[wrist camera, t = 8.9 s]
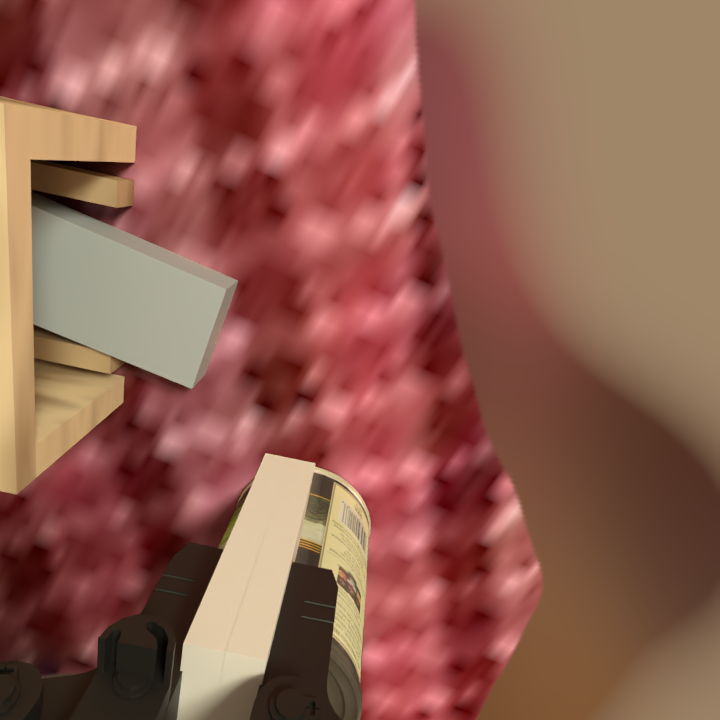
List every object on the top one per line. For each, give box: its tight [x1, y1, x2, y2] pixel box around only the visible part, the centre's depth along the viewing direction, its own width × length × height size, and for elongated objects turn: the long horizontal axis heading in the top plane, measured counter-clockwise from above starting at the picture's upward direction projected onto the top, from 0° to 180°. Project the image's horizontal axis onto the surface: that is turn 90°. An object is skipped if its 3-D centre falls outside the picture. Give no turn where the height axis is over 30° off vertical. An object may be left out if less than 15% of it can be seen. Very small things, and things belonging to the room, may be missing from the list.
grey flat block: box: [31, 191, 238, 389], centre depth 32 cm, size 14×7×3 cm, turn 67°
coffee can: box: [218, 467, 371, 720], centre depth 32 cm, size 10×10×14 cm
